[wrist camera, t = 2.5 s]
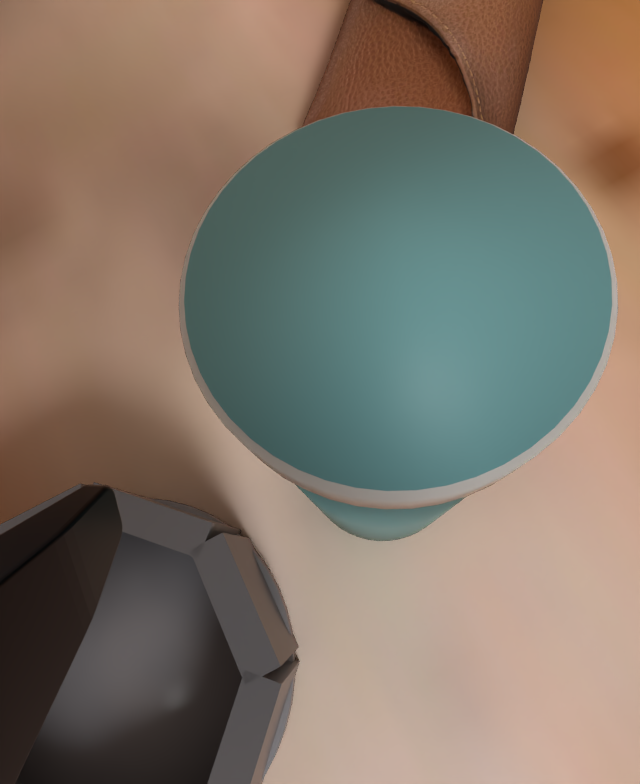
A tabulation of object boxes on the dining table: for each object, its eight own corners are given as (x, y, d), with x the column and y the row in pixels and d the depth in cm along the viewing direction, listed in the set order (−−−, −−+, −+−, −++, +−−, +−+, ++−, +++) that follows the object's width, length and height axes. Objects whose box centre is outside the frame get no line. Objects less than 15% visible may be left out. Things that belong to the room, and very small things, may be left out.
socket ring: (354, 754, 17) (349, 802, 13) (32, 933, 16) (-58, 1029, 13) (215, 447, 20) (182, 423, 16) (-59, 588, 19) (-150, 593, 16)
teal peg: (489, 497, 18) (722, 359, 6) (348, 573, 18) (289, 589, 6) (410, 365, 20) (466, 42, 8) (279, 433, 20) (116, 210, 7)
